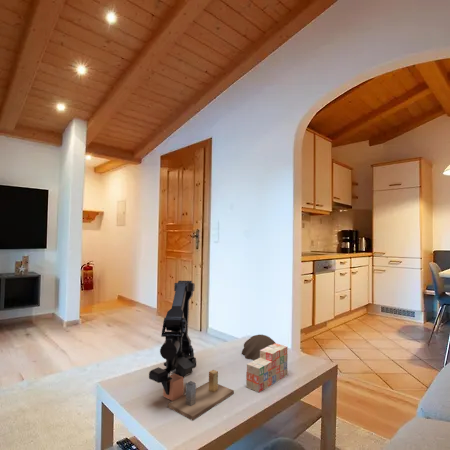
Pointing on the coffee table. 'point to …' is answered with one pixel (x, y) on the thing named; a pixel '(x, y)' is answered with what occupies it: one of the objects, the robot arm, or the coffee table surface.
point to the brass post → (213, 381)
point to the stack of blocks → (267, 367)
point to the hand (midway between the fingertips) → (173, 391)
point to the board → (201, 401)
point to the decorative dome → (256, 346)
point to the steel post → (190, 393)
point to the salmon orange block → (175, 387)
